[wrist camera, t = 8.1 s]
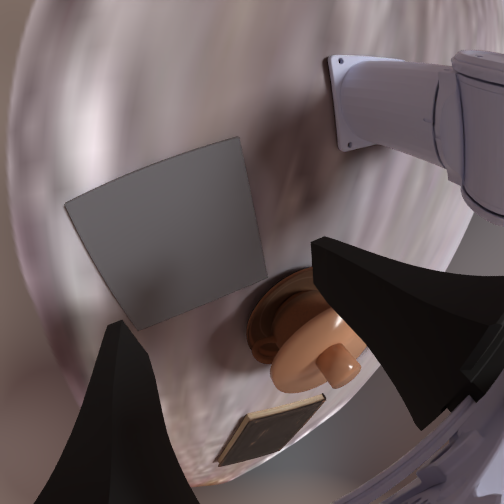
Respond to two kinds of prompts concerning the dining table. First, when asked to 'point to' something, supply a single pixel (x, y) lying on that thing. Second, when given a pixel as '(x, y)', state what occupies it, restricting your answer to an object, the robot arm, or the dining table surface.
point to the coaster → (174, 232)
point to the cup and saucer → (283, 314)
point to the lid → (318, 355)
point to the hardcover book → (269, 430)
